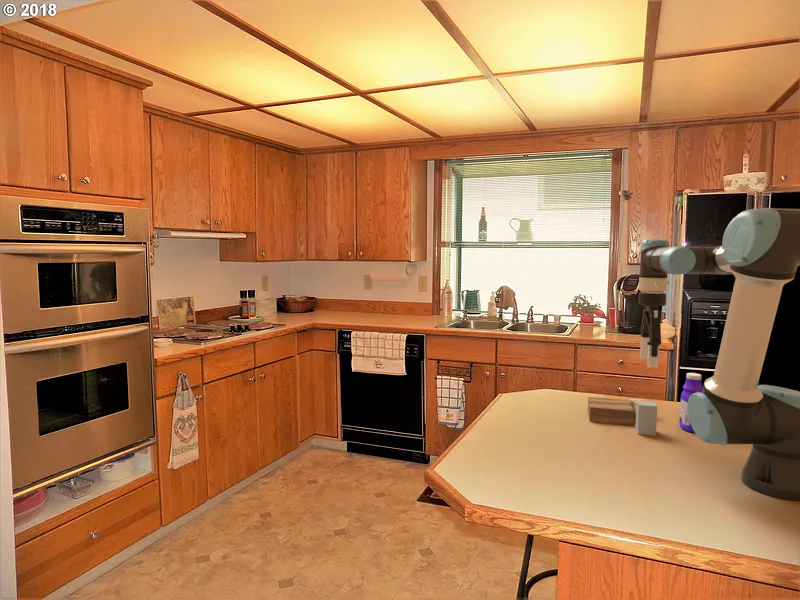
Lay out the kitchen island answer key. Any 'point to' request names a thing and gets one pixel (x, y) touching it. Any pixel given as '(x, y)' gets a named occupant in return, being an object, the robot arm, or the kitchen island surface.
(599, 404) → the walnut block
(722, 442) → the robot arm
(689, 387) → the bottle
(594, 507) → the kitchen island surface
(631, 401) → the maple cube
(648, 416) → the pale gray block
